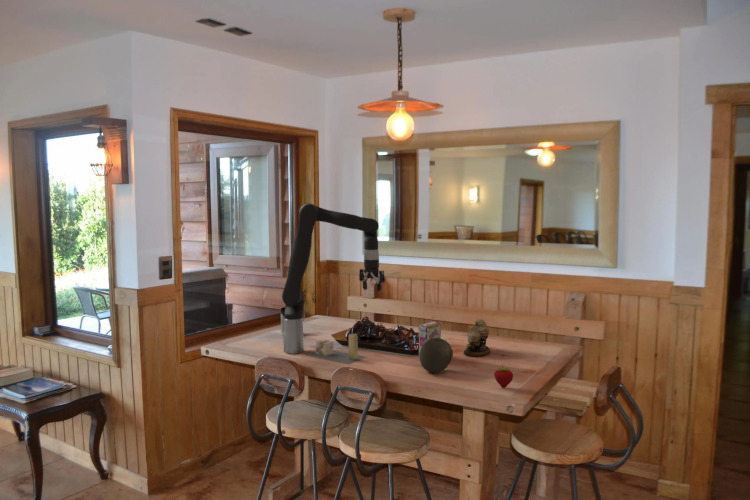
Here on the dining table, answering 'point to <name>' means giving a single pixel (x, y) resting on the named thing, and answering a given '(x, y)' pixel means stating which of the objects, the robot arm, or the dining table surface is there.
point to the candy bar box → (428, 332)
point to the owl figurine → (477, 340)
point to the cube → (324, 347)
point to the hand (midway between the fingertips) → (372, 290)
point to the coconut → (435, 355)
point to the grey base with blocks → (343, 353)
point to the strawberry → (503, 376)
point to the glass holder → (283, 320)
